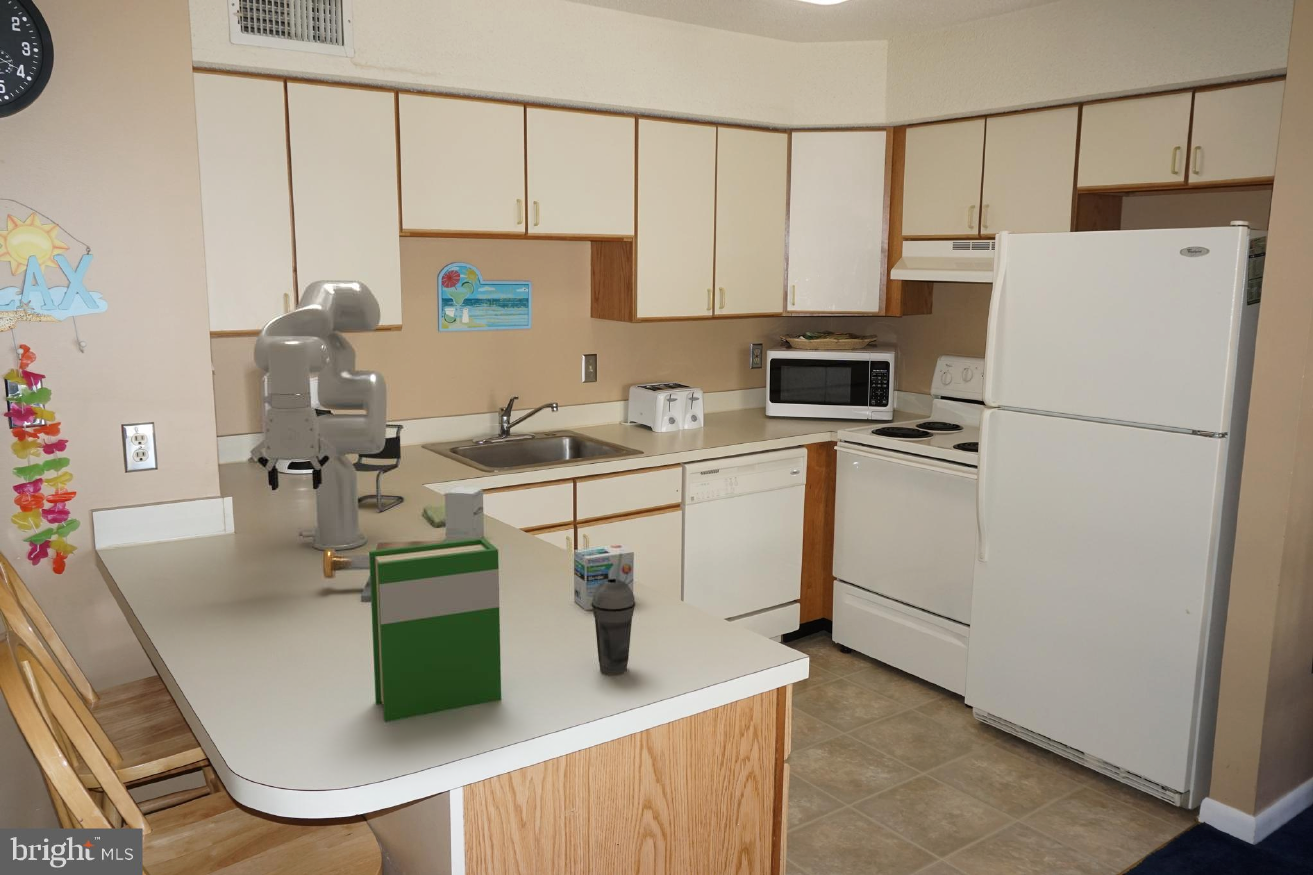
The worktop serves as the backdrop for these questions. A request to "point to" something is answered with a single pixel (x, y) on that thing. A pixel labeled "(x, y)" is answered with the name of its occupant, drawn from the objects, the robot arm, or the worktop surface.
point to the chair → (383, 466)
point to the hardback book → (435, 627)
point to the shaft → (343, 563)
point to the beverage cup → (613, 623)
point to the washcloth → (435, 515)
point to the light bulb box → (599, 570)
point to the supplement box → (464, 514)
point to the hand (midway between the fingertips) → (295, 487)
